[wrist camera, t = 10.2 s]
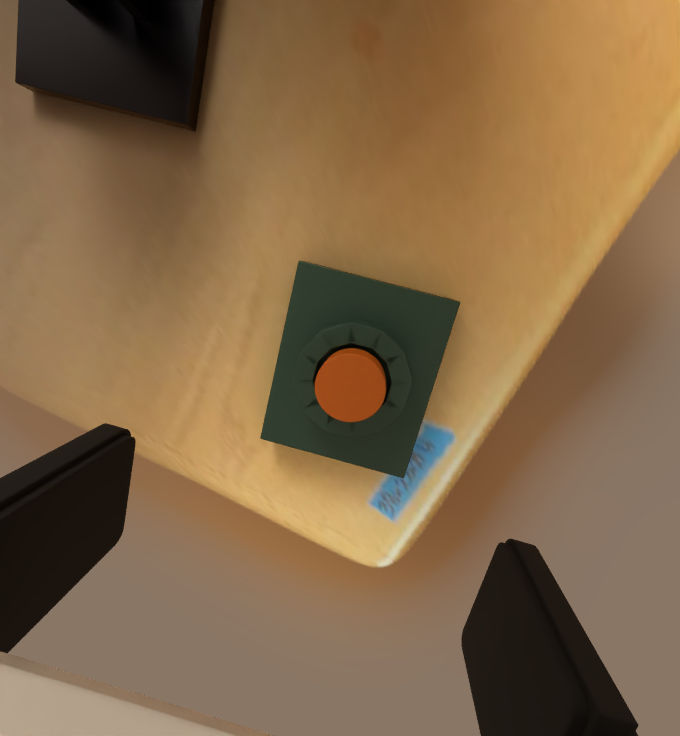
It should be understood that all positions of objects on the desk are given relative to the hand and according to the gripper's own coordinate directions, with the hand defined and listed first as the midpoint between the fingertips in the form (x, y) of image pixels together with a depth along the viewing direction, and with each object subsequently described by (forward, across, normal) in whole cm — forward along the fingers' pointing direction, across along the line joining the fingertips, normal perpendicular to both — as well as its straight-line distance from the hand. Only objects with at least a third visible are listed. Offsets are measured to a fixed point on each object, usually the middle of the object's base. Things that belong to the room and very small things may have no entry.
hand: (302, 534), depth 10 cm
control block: (+18, 0, 0) cm, 18 cm away
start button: (+15, 0, 0) cm, 15 cm away
